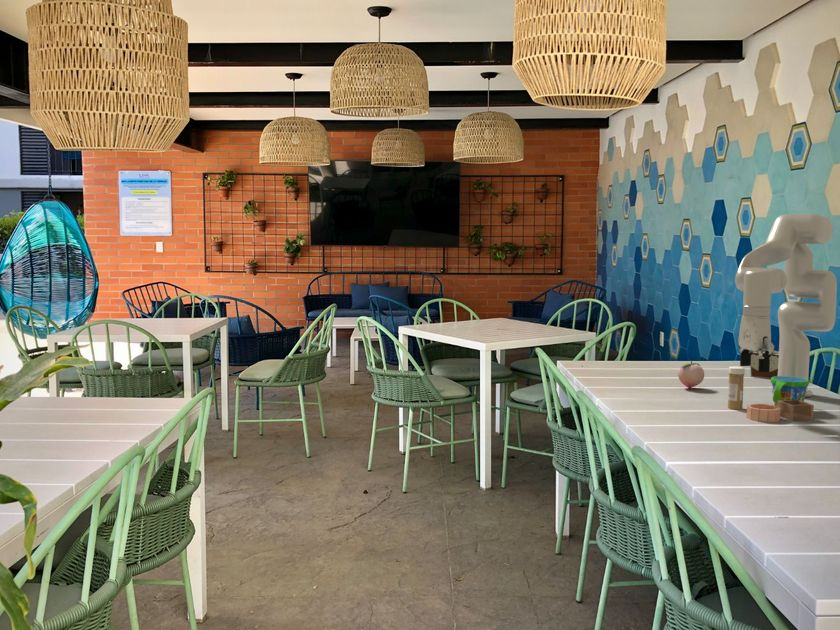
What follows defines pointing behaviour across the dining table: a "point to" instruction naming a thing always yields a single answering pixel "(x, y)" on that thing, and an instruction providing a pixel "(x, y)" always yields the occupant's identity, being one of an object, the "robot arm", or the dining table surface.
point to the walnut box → (796, 410)
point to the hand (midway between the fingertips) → (754, 368)
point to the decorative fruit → (691, 374)
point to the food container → (772, 370)
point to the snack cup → (788, 388)
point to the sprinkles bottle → (735, 388)
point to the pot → (763, 412)
